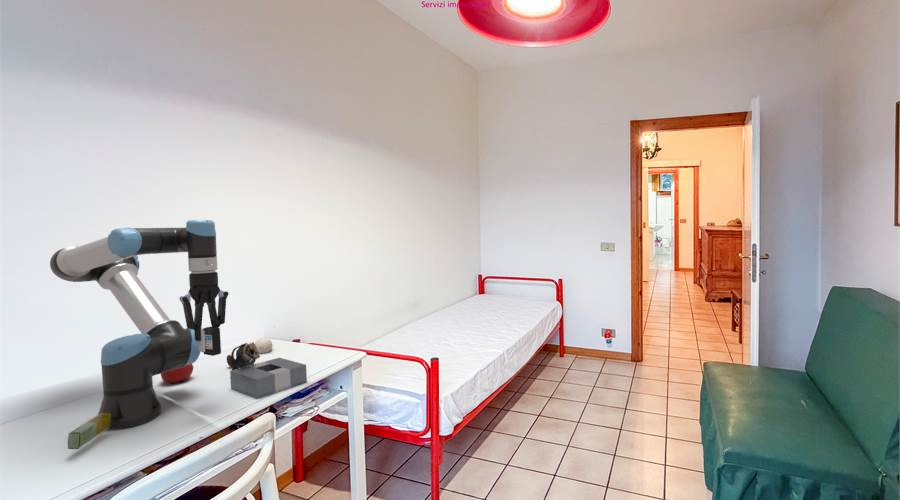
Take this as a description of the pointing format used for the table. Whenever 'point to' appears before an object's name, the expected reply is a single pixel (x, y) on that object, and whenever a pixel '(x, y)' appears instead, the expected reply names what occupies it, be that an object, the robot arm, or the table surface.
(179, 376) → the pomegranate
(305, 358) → the table surface
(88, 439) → the medication box
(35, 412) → the table surface
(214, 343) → the ink cartridge
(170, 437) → the table surface
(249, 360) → the power plug
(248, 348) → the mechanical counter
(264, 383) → the grey block with hole
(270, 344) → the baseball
